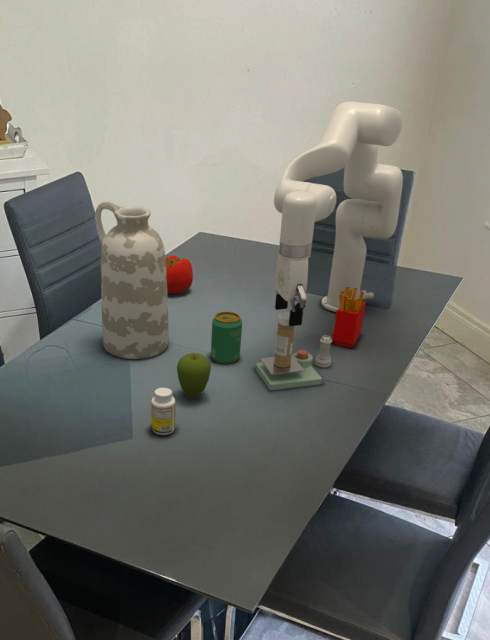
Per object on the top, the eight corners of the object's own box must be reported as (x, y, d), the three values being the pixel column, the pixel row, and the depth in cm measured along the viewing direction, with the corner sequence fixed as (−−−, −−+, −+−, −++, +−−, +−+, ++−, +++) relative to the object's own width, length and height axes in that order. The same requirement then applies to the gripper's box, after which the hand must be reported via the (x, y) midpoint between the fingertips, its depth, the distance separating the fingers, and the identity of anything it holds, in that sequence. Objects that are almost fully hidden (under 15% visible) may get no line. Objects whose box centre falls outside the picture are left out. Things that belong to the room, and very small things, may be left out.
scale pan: (291, 356, 197) (292, 354, 196) (304, 371, 190) (304, 370, 190) (259, 359, 195) (260, 358, 195) (271, 375, 188) (271, 374, 188)
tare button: (304, 355, 198) (305, 349, 197) (308, 359, 196) (309, 353, 195) (295, 356, 197) (296, 350, 196) (299, 360, 195) (300, 354, 194)
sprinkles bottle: (294, 365, 192) (300, 316, 183) (281, 369, 190) (286, 320, 181) (282, 358, 195) (288, 309, 186) (269, 362, 193) (274, 313, 184)
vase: (179, 337, 213) (180, 199, 189) (151, 365, 200) (149, 220, 176) (116, 325, 220) (111, 190, 196) (86, 351, 207) (76, 210, 183)
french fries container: (329, 344, 210) (336, 296, 201) (337, 331, 217) (344, 285, 208) (353, 348, 208) (362, 300, 199) (361, 335, 214) (369, 289, 206)
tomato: (199, 288, 242) (200, 256, 236) (178, 301, 234) (179, 269, 227) (164, 279, 248) (164, 248, 242) (143, 292, 239) (142, 260, 233)
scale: (306, 362, 201) (308, 351, 199) (324, 384, 192) (326, 372, 190) (254, 368, 199) (255, 356, 196) (270, 390, 189) (271, 378, 187)
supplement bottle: (161, 421, 178) (161, 383, 171) (179, 428, 175) (180, 390, 169) (146, 430, 174) (146, 392, 168) (164, 438, 172) (164, 400, 165)
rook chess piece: (332, 362, 201) (336, 334, 196) (329, 369, 198) (333, 341, 193) (315, 359, 202) (319, 332, 198) (312, 367, 199) (316, 339, 194)
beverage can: (223, 348, 208) (226, 308, 200) (245, 358, 203) (248, 316, 196) (204, 358, 203) (206, 316, 196) (226, 367, 199) (228, 325, 191)
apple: (198, 407, 183) (200, 365, 175) (169, 398, 186) (170, 356, 179) (215, 392, 188) (217, 351, 181) (187, 384, 192) (188, 343, 185)
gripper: (267, 237, 180) (262, 304, 190) (293, 263, 167) (285, 333, 177) (296, 234, 181) (289, 301, 192) (324, 260, 168) (315, 330, 179)
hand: (287, 316), depth 185 cm, fingers open, 9 cm apart
